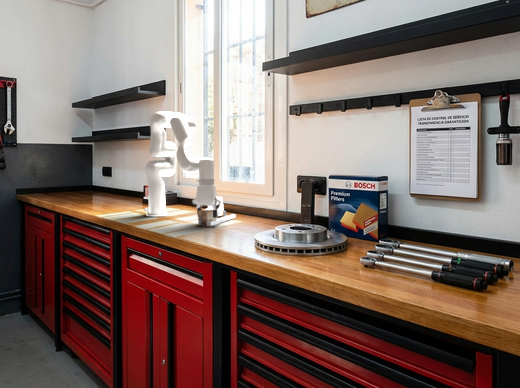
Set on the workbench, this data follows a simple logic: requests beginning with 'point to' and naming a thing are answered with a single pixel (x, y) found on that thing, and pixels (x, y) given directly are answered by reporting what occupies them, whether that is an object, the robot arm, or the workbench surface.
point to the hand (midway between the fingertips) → (207, 216)
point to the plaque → (206, 215)
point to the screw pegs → (202, 219)
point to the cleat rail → (221, 220)
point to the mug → (220, 209)
